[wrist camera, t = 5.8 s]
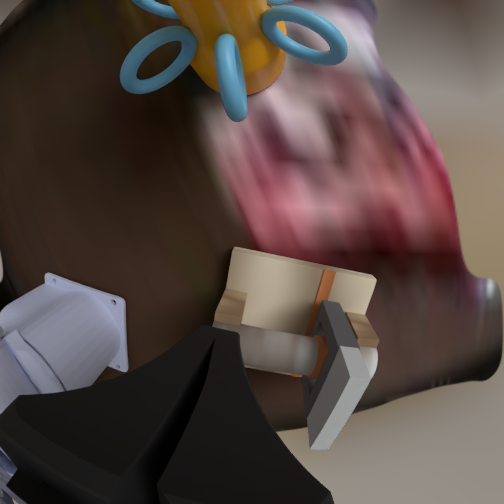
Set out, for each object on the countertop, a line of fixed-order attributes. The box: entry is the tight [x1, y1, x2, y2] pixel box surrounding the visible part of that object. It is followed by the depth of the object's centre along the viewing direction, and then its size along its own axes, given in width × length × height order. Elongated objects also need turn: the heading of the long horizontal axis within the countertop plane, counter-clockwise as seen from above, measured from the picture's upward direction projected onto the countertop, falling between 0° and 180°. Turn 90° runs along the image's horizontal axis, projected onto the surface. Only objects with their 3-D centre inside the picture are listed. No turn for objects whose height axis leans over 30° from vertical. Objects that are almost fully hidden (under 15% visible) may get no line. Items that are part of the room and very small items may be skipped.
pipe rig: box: [212, 247, 379, 379], centre depth 17 cm, size 10×9×6 cm
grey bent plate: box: [302, 300, 371, 450], centre depth 14 cm, size 1×5×8 cm, turn 169°
